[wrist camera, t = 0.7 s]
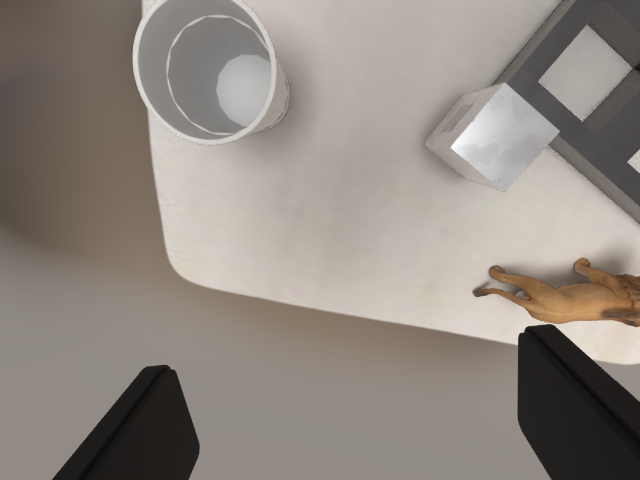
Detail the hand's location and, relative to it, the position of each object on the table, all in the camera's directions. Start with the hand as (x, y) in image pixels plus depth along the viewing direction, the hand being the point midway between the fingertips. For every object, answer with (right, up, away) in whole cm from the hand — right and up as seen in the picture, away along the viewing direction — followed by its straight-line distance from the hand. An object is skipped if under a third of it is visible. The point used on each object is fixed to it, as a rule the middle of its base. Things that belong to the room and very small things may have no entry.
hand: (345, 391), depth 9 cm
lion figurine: (+22, +1, +25) cm, 33 cm away
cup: (-6, +17, +21) cm, 28 cm away
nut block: (+12, +13, +21) cm, 28 cm away
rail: (+25, +15, +20) cm, 35 cm away
